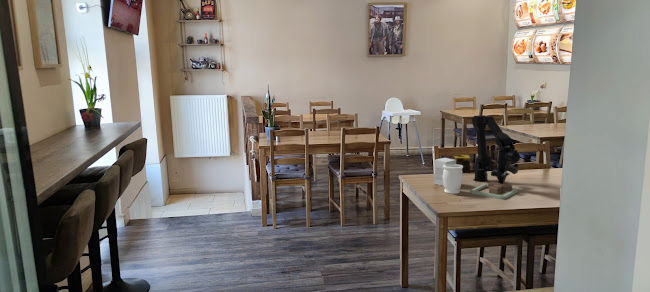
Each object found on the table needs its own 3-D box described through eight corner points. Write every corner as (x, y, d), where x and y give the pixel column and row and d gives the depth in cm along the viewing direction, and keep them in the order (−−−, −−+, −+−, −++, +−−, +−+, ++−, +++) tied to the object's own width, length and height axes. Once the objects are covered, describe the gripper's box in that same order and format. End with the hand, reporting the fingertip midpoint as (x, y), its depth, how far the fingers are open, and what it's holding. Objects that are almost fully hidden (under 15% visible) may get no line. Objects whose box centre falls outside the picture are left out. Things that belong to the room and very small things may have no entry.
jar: (462, 190, 269) (463, 164, 266) (461, 195, 259) (462, 168, 256) (443, 188, 272) (443, 163, 269) (441, 193, 262) (442, 167, 260)
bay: (469, 193, 263) (469, 190, 262) (484, 186, 276) (484, 183, 276) (503, 199, 250) (503, 196, 250) (517, 192, 264) (517, 189, 264)
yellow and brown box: (470, 173, 308) (470, 158, 306) (453, 172, 310) (454, 157, 308) (468, 169, 317) (469, 155, 316) (453, 169, 320) (453, 154, 318)
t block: (490, 187, 274) (490, 182, 274) (511, 190, 266) (512, 185, 266) (482, 191, 265) (482, 186, 265) (503, 195, 258) (503, 190, 257)
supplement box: (443, 181, 288) (444, 157, 285) (455, 184, 280) (456, 159, 278) (433, 184, 282) (434, 159, 280) (445, 187, 275) (446, 161, 273)
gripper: (511, 163, 256) (509, 191, 259) (523, 158, 269) (522, 184, 272) (491, 161, 263) (489, 188, 266) (504, 155, 277) (502, 181, 280)
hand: (501, 185), depth 271 cm, fingers closed
